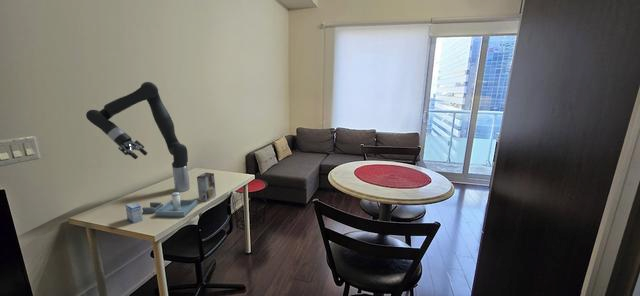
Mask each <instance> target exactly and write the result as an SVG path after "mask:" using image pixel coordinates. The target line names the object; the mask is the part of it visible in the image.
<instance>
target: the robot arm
mask: <svg viewBox="0 0 640 296" xmlns="http://www.w3.org/2000/svg"><path fill="white" fill-rule="evenodd" d="M143 101H147V103H148V105H149V108H150V111H151V114H152V117H153V119H154V122H155V124H156V125H157V128H158V130H159V132H160V133H161V136H162V138H163V139H164V142H165V144H166V147H167V150H168V152H169V153H170V155H171V156H173V162H172V163H171V165H172V174H173V175H172V176H173V184H174V191H175V192H179V193H181V192H186V191H188V190H190V189H191V188H190V187H191V186H190V184H191V183H190V176H189V175H190V174H189V169H188V161H189V156H188V149H187V147H186V145H184V144H182V143H180V141H179V140H178V138H177V136H176V132H175V131H176V130H175V124H174V121H173V120H172V119H173V118H172V117H171V115H170V113H169V111H168V110H167V108H166V107H165V105H164V102H163V101H162V99H161V96H160V93H159V89H158V86H157V85H156V84H155V83H153V82H150V81H144V82H142V84H140V87H139V88H137V89H136V90H134V91H133V92H131V93H129V94H127V95H124V96H121V97H119V98H116V99H114V100H112V101H111V102H108V103H106V104H105V105H104V106H103V108H102V109H101V110H97V109H90V110H88V111H87V112H86V114H85V117H86V119H87V120H88V121H89V122H90V123H92V124H93V125H94V126H96V127H97V128H99V129H100V130H101V131H102V132H103V133H104V134H105V135H107V136H108V138H110V140H112V141H113V142H114V143H115V144H116V145H117V146H118V147H117V149H118V150H119V151H120V152H121V153H123V154H124V155H125V156H130V157H131V158H133V159H134V160H137V159H138V158H139V156H138V155H137V154H136V153H135V152H133V151H138V152H140V153H141V154H142V155H143V156H147V154H148V152H147V150H145V149H144V148H145V146H144V145H143V144H142V143H141V142H140V141H139V140H135V141H133V140H132V137H131V136H130V135H129V134H128V133H126V132H125V131H124V130H123V129H122V128H120V127H119V126H118V125H116V124H115V123H114V122H112V121H111V118H113V116H115V115H117V114H120V113H121V112H124V111H125V110H127V109H128V108H131V107H132V106H134V105H136V104H139V103H141V102H143Z"/></svg>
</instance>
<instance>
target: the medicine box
mask: <svg viewBox="0 0 640 296" xmlns="http://www.w3.org/2000/svg"><path fill="white" fill-rule="evenodd" d="M125 212H126V213H125V214H126V218H127V221H130V222H132V223H133V224H137V223H138V222H139V223H140V222H141V221H143V211H142V206H141V205H140V204H137V203H136V202H130V203H128V204H125Z"/></svg>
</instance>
